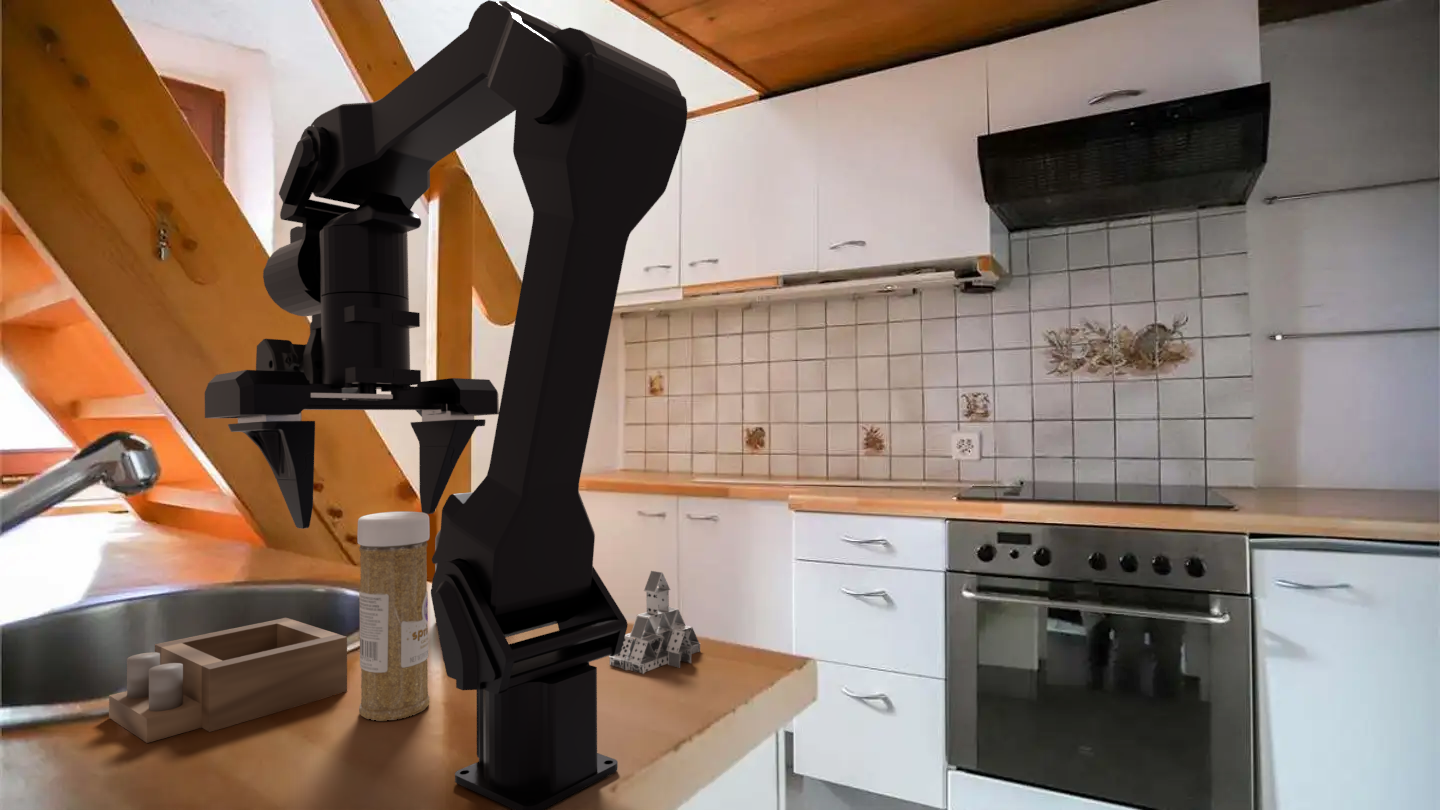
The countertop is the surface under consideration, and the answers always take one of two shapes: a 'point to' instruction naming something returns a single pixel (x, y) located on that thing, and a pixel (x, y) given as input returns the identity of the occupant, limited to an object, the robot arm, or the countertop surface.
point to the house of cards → (657, 633)
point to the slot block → (229, 678)
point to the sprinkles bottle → (393, 614)
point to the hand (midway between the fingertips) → (369, 520)
